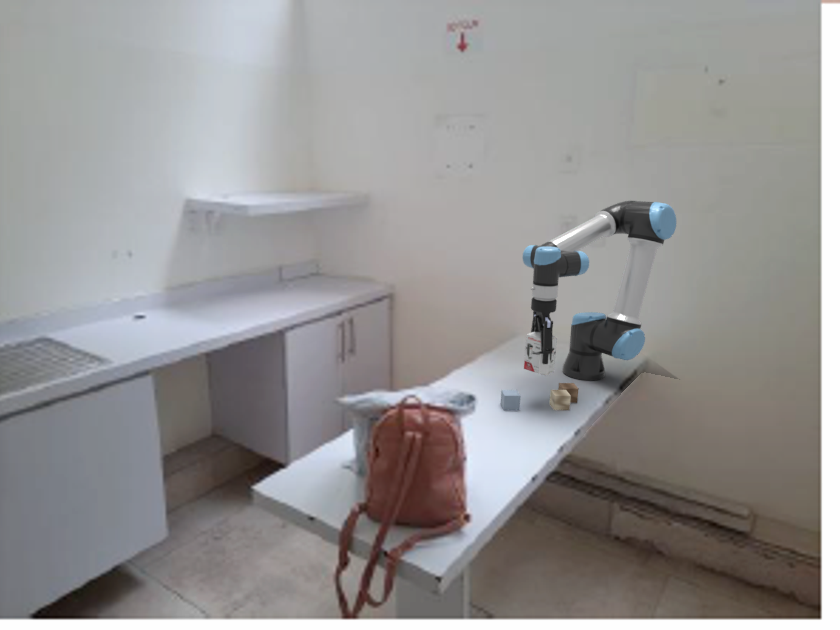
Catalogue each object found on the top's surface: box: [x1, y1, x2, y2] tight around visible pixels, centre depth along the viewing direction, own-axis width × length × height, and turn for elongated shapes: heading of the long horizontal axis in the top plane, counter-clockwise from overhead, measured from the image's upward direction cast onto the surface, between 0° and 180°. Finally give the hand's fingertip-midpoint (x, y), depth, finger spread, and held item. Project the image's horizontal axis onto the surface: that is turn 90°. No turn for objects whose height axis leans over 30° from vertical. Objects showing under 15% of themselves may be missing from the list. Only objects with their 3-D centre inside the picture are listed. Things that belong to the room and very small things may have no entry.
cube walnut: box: [557, 382, 580, 404], centre depth 190 cm, size 5×5×5 cm
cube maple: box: [548, 389, 571, 411], centre depth 183 cm, size 5×5×5 cm
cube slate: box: [500, 389, 521, 411], centre depth 182 cm, size 5×5×5 cm
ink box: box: [523, 331, 558, 376], centre depth 180 cm, size 9×5×12 cm, turn 45°
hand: (538, 367), depth 181 cm, fingers closed on ink box, 9 cm apart
